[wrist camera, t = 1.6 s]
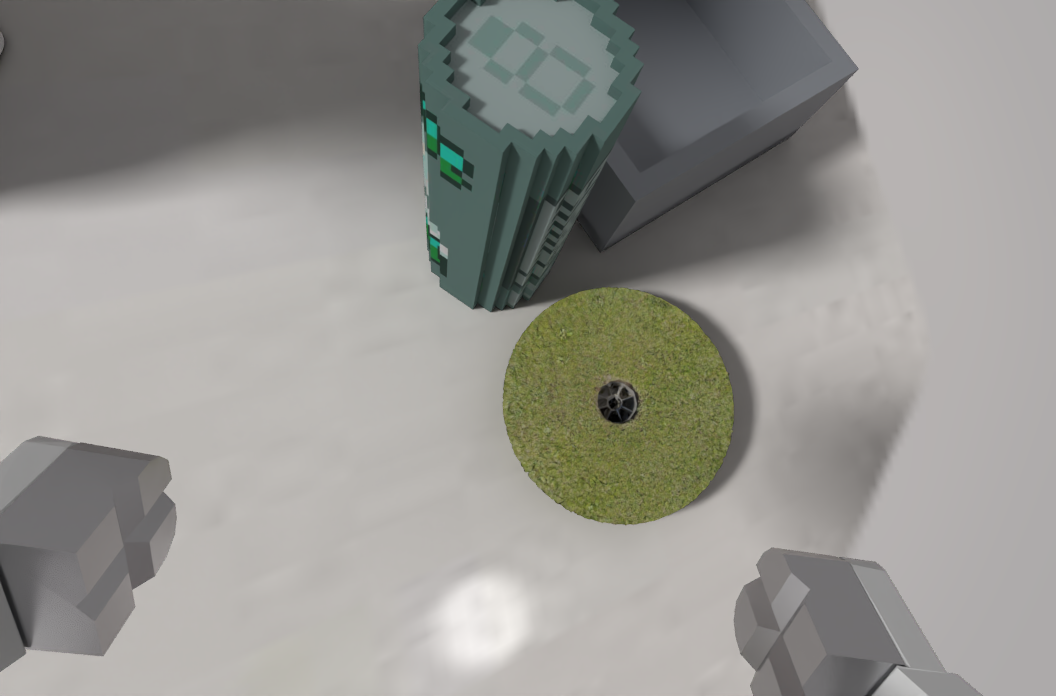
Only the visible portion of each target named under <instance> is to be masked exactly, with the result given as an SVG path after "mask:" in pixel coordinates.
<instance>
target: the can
mask: <svg viewBox="0 0 1056 696" xmlns="http://www.w3.org/2000/svg"><path fill="white" fill-rule="evenodd" d="M618 7H619V4H618V3H616V2H615V1H613V0H439V1H438V2H437V3H436V4H435V5H434V6H433V7H432V8H431V9H430V10H429V12H428V13H427V14H426V15H425V16H424V17H423V22H424V39H423V40H422V41H421V42H420V43H419V44H418V59H419V80H420V101H421V122H422V143H423V165H424V186H425V207H426V228H427V249H428V251H429V261H431V272H433V273H434V274H436V275H437V276H439V277H440V287H441V288H442V289H444V290H445V291H447V292H448V293H450V294H451V295H453V296H454V297H455V298H457V299H458V300H460V301H461V302H463V303H464V304H466V305H467V306H469V307H470V308H471V309H474V307H475V306H476V305H477V303H478V304H479V305H481V306H482V307H484V308H485V309H487V310H488V311H489V312H491V311H492V310H493V309H494V307H495V306H496V307H497V308H499V309H500V310H503V308H504V307H505V306H506V305H508V306H509V307H511V308H512V309H513V308H514V307H515V305H516V304H517V303H518V301H519V300H520V298H521V297H523V298H524V299H526V300H527V301H529V299H530V298H531V297H532V295H533V294H534V292H535V291H536V290H537V288H538V287H539V285H540V284H541V283H542V281H543V280H544V278H545V277H546V276H547V274H548V273H549V271H550V270H551V268H552V266H553V264H554V262H555V260H556V258H557V256H558V254H559V252H560V250H561V248H562V246H563V244H564V242H565V240H566V238H567V236H568V234H569V232H570V230H571V229H572V227H573V225H574V223H575V221H576V219H577V217H578V215H579V213H580V211H581V209H582V207H583V205H584V203H585V201H586V199H587V197H588V195H589V193H590V191H591V189H592V188H593V186H594V184H595V182H596V180H597V178H598V176H599V174H600V172H601V170H602V168H603V166H604V164H605V162H606V160H607V158H608V156H609V154H610V152H611V150H612V148H613V147H614V145H615V143H616V141H617V139H618V137H619V135H620V133H621V131H622V129H623V127H624V125H625V123H626V121H627V119H628V117H629V115H630V113H631V111H632V109H633V107H634V106H635V104H636V102H637V100H638V98H639V96H640V94H641V92H642V91H641V90H639V89H638V88H636V87H635V86H634V84H635V82H636V80H637V78H638V76H639V74H640V72H641V70H642V68H643V66H644V63H642V62H641V61H639V60H638V59H636V58H635V56H636V54H637V52H638V49H639V47H640V46H638V45H637V44H635V43H634V42H632V41H631V38H632V36H633V34H634V31H635V29H634V28H633V27H631V26H630V25H628V24H627V23H625V22H624V21H622V20H621V19H619V18H618V17H616V16H615V15H616V13H617V10H618Z"/></svg>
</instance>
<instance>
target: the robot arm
mask: <svg viewBox="0 0 1056 696" xmlns="http://www.w3.org/2000/svg"><path fill="white" fill-rule="evenodd" d="M3 47H4V37H3V35H2V33H1V31H0V54H1V52H2V50H3ZM171 479H172V477H171V472H170V467H169V461H168V460H167V459H165V458H163V457H161V456H156V455H150V454H144V453H139V452H133V451H127V450H121V449H116V448H110V447H104V446H99V445H93V444H87V443H77V442H71V441H65V440H60V439H54V438H48V437H43V436H37V437H35V438H32V439H29V440H26V441H24V442H23V443H21V444H20V445H19V446H18V447H17V448H16V449H15V450H14V451H12V452H11V453H10V454H9V455H8V456H7V457H6V458H5V459H3V460H2V461H1V462H0V672H1V671H2V670H4V669H5V668H6V667H8V666H9V665H11V664H12V663H14V662H15V661H16V660H18V659H19V658H21V657H22V656H24V655H25V654H26V650H25V649H30V650H41V651H52V652H62V653H73V654H84V655H95V656H104V655H105V653H106V652H107V650H108V648H109V647H110V645H111V644H112V642H113V641H114V639H115V638H116V636H117V634H118V633H119V631H120V630H121V628H122V627H123V625H124V624H125V622H126V621H127V619H128V617H129V616H130V614H131V613H132V611H133V610H134V608H135V602H134V597H133V591H132V590H133V589H134V588H136V587H138V586H139V585H141V584H143V583H144V582H146V581H148V580H149V579H151V578H153V577H154V576H155V575H156V573H157V572H158V570H159V569H160V567H161V565H162V564H163V562H164V560H165V559H166V557H167V555H168V552H169V549H170V546H171V544H172V541H173V538H174V535H175V529H176V520H177V516H176V507H175V503H174V502H173V501H172V500H171V499H170V498H169V497H168V496H167V495H166V494H165V493H164V492H163V491H164V489H165V488H166V486H167V485H168V484H169V482H170V481H171ZM756 566H757V569H758V571H759V574H760V577H759V578H757V579H755V580H754V581H752V582H750V583H748V584H746V585H744V587H743V589H742V591H741V593H740V595H739V597H738V599H737V601H736V607H735V615H734V627H735V636H736V640H737V643H738V647H739V650H740V654H741V655H742V656H743V657H744V658H745V659H746V661H747V662H748V663H749V664H750V665H751V666H752V667H753V668H754V669H755V670H756V672H755V675H754V677H753V680H752V682H751V685H750V687H751V690H752V693H753V696H983V695H982V694H980V693H979V692H978V691H977V690H976V689H975V688H973V687H972V686H971V685H970V684H969V683H968V682H966V681H965V680H964V679H963V678H962V677H960V676H959V675H958V674H953V673H947V672H946V671H945V669H944V667H943V665H942V664H941V662H940V661H939V659H938V657H937V655H936V654H935V652H934V650H933V649H932V647H931V645H930V644H929V642H928V640H927V639H926V637H925V635H924V634H923V632H922V630H921V629H920V627H919V625H918V624H917V622H916V620H915V619H914V617H913V615H912V614H911V612H910V610H909V609H908V607H907V606H906V604H905V602H904V600H903V599H902V597H901V595H900V594H899V592H898V590H897V589H896V587H895V585H894V584H893V582H892V580H891V579H890V577H889V575H888V574H887V572H886V571H885V570H884V569H883V568H882V567H881V566H880V565H879V564H877V563H876V562H872V561H865V560H858V559H851V558H844V557H839V558H838V557H835V556H830V555H823V554H815V553H808V552H801V551H794V550H787V549H780V548H770V549H769V550H767V551H766V552H764V553H763V554H762V556H761V558H760V559H759V561H758V563H757V564H756Z"/></svg>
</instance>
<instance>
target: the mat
mask: <svg viewBox="0 0 1056 696" xmlns="http://www.w3.org/2000/svg"><path fill="white" fill-rule="evenodd" d="M718 353H719V352H718V350H717V349H716V347H715V345H714V344H713V343H712V342H711V340H710V338H709V337H708V336H707V335H706V334H704V332H703V331H702V329H701V327H700V326H699V325H698V324H697V323H696V322H695V321H693V320H692V319H691V318H690V317H689V315H687V314H685V313H684V312H683V311H681V310H680V309H678V308H677V307H676V306H674V305H672V304H670V303H669V302H667V301H665V300H663V299H662V298H660V297H659V298H657V297H656V296H654V295H651V294H649V293H646V292H641V291H639V290H632V289H628V288H617V287H616V288H611V287H608V288H605V287H602V288H596V289H590V290H585V291H581V292H578V293H576V294H572V295H570V296H568V297H566V298H564V299H561V300H559V301H558V302H556V303H554V304H553V305H551V306H550V307H549V308H547V309H546V310H544V311H543V312H542V313H541V314H540V315H539V316H538V317H537V318H535V320H534V321H533V322H531V324H530V325H529V326H528V328H527V329H526V330H525V332H524V333H523V334H522V336H521V338H520V339H519V341H518V342H517V344H516V345H515V349H514V350H513V353H512V355H511V358H510V360H509V364H508V367H507V370H506V375H505V377H506V378H505V380H504V388H503V390H504V393H503V400H504V401H503V415H504V420H505V424H506V426H507V428H506V429H507V432H508V433H507V434H508V436H509V439H510V443H511V444H512V448H513V450H514V453H515V455H516V457H517V458H518V460H519V461H520V462H521V466H522V467H523V468H524V471H525V472H529V473H528V476H529V477H530V478H531V479H532V481H534V482H535V483H536V485H537V486H538V487H539V488H540V489H542V491H543V492H544V493H545V494H547V495H548V496H549V497H550V498H551V499H554V501H555V502H556V503H557V504H561V505H562V506H563V507H564V508H565V509H567V510H569V511H570V512H572V511H573V512H574V513H577V515H581V516H583V517H584V518H587V519H593V520H596V521H598V522H602V523H603V522H606V523H611V524H624V525H628V524H639V523H645V522H649V521H655V520H657V519H660V518H662V517H665V516H667V515H670V514H672V513H674V512H676V511H678V510H680V509H682V508H684V507H685V506H686V505H688V504H689V503H690V502H691V501H693V500H695V499H696V498H697V496H698V495H699V494H700V493H701V492H702V491H703V490H705V489H706V487H707V486H708V485H709V483H710V481H712V480H713V478H714V476H715V474H716V472H717V471H718V469H719V468H720V467H721V465H722V463H723V458H724V457H725V456H726V452H727V450H728V446H729V444H730V441H731V432H733V430H732V426H733V423H734V403H733V394H732V388H731V384H730V381H729V377H728V376H729V373H728V372H726V368H725V366H724V364H723V360H722V358H721V356H720V355H719V354H718Z"/></svg>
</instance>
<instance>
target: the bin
mask: <svg viewBox="0 0 1056 696" xmlns="http://www.w3.org/2000/svg"><path fill="white" fill-rule="evenodd" d="M613 1H615V2H616V3H618V4H619V7H618V10H617V13H616V15H615V16H616V17H618V18H619V19H621V20H622V21H624V22H625V23H627V24H628V25H630V26H631V27H633V28H634V29H635V31H634V34H633V36H632V38H631V41H632V42H634V43H635V44H637V45H638V46H640V47H639V49H638V52H637V54H636V56H635V58H636V59H638V60H639V61H641V62H642V63H644V66H643V68H642V70H641V72H640V74H639V76H638V78H637V80H636V82H635V84H634V86H635V87H636V88H638V89H639V90H641V91H642V92H641V94H640V96H639V98H638V100H637V102H636V104H635V106H634V107H633V109H632V111H631V113H630V115H629V117H628V119H627V121H626V123H625V125H624V127H623V129H622V131H621V133H620V135H619V137H618V139H617V141H616V143H615V145H614V147H613V148H612V150H611V152H610V154H609V156H608V158H607V160H606V162H605V164H604V166H603V168H602V170H601V172H600V174H599V176H598V178H597V180H596V182H595V184H594V186H593V188H592V189H591V191H590V193H589V195H588V197H587V199H586V201H585V203H584V205H583V207H582V209H581V211H580V213H579V215H578V217H577V220H578V221H579V223H580V224H581V225H582V227H583V228H584V230H585V231H586V233H587V234H588V235H589V237H590V238H591V240H592V241H593V243H594V244H595V245H596V247H597V248H598V250H599V251H600V253H601V252H602V251H604V250H606V249H607V248H609V247H611V246H612V245H614V244H615V243H617V242H619V241H620V240H622V239H624V238H625V237H627V236H629V235H630V234H632V233H634V232H635V231H637V230H638V229H640V228H642V227H643V226H645V225H647V224H648V223H650V222H652V221H653V220H655V219H657V218H658V217H660V216H661V215H663V214H665V213H666V212H668V211H670V210H671V209H673V208H675V207H676V206H678V205H679V204H681V203H683V202H684V201H686V200H688V199H689V198H691V197H693V196H694V195H696V194H698V193H699V192H701V191H702V190H704V189H706V188H707V187H709V186H711V185H712V184H714V183H716V182H717V181H719V180H721V179H722V178H724V177H725V176H727V175H729V174H730V173H732V172H734V171H735V170H737V169H739V168H740V167H742V166H744V165H745V164H747V163H748V162H750V161H752V160H753V159H755V158H757V157H758V156H760V155H762V154H763V153H765V152H766V151H768V150H770V149H771V148H773V147H775V146H776V145H778V144H780V143H781V142H783V141H785V140H786V139H788V138H789V137H791V136H792V135H793V134H794V133H795V132H796V131H797V130H798V129H799V128H800V127H801V126H802V125H803V124H804V123H805V122H806V121H807V120H808V119H809V118H810V117H811V116H812V115H813V114H814V113H815V112H816V111H817V110H818V109H819V108H820V107H821V106H822V105H823V104H824V103H825V102H826V101H827V100H828V99H829V98H830V97H831V96H832V95H833V94H834V93H835V92H836V91H837V90H838V89H839V88H840V87H841V86H842V85H843V84H844V83H845V82H846V81H847V80H848V79H849V78H850V77H851V76H852V75H853V74H854V73H855V72H856V71H857V70H858V67H857V66H856V65H855V64H854V62H853V61H852V60H851V58H850V57H849V56H848V55H847V53H846V52H845V51H844V49H843V48H842V47H841V46H840V44H839V43H838V42H837V41H836V39H835V38H834V37H833V36H832V34H831V33H830V32H829V30H828V29H827V28H826V27H825V25H824V24H823V23H822V22H821V20H820V19H819V18H818V16H817V15H816V14H815V13H814V11H813V10H812V9H811V8H810V6H809V5H808V4H807V2H806V1H805V0H613Z"/></svg>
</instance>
